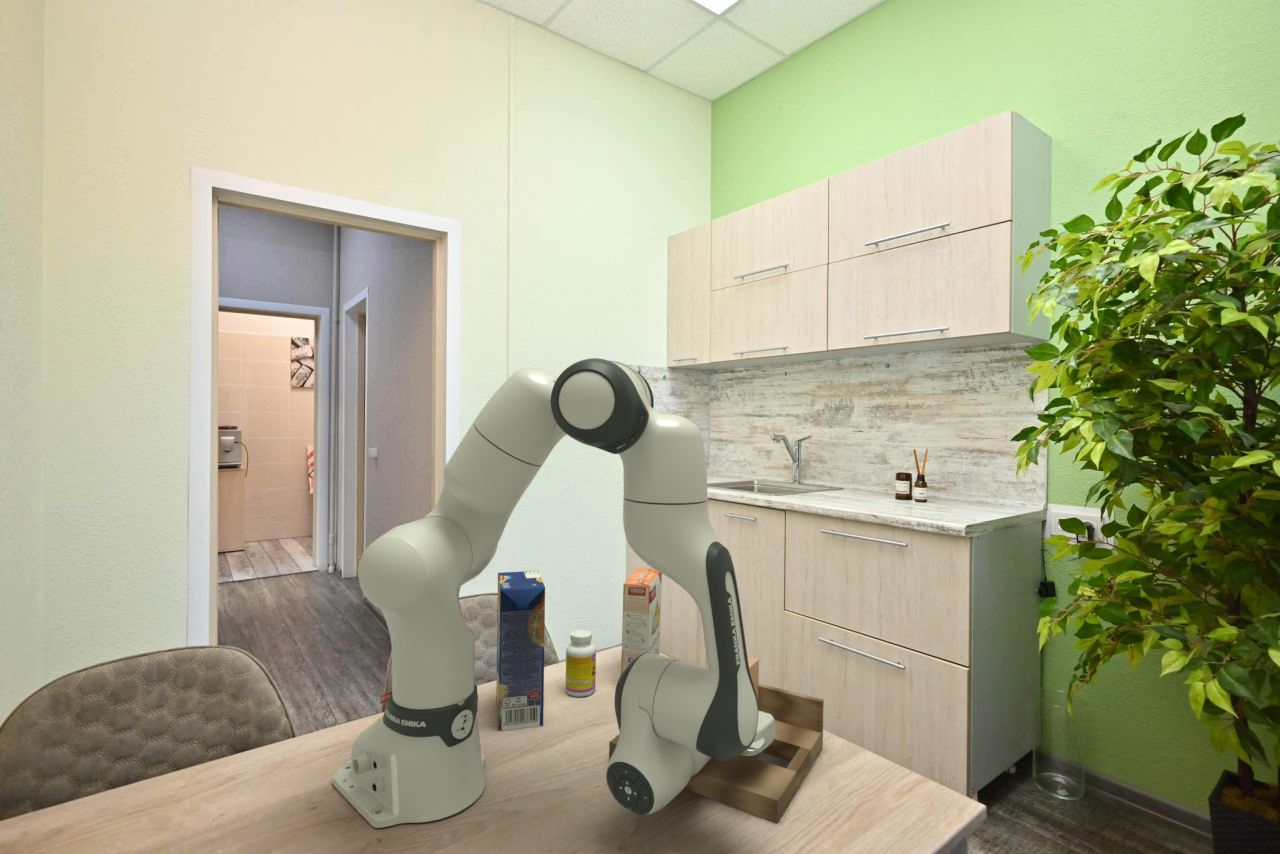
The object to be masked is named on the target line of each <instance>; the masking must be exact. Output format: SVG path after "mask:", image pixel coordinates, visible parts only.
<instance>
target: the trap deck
mask: <svg viewBox="0 0 1280 854" xmlns="http://www.w3.org/2000/svg"><path fill="white" fill-rule="evenodd" d="M824 705H825V704H824V699H822V698H819V697H814V696H809V695H806V694H802V693H797V692H794V691H790V690H786V689H782V688H779V687H778V688H777V687H774V686H769V685H767V684H763V683H759V682H758V711H761V712H765V713H769V714H771V715H772V716H773V718H774V720H775V738H774V740H773V742H772V743H771V744H770V745H769V746H768V747H767V748H765V749H764V750H763V751H762V752H760V753H759V754H757V755H754V756H744V755H740V754H739V755H738V756H736V757H734V758H732V759H729V760H727V761H724V762H720V761H718V760H716V759H713V758H711V759H710V760H709V761H708V762H707V763H706V764H705V766H704V767H703V768H702V769H701V770H700V771H699V772H698V773H697V774H695V775H693V776H691V778H690V780H689V782H688V784H687V785H686V786H685V787H684V788H683V790H687V791H689V792H692V793H695V794H697V795H700V796H702V797H706V798H708V799H711V800H713V801H716V802H719V803H722V804H725V805H726V806H729V807H731V808H732V807H733V808H734V809H738V810H740V811H743V812H745V813H749V814H751V815H754V816H756V817H759V818H762V819H765V820H767V821H770V822H772V823H775V824H778V823H779V822H780V820H781V818H782V816H783V815H784V813H785V812H786V810H787V808H788V806H789V805H790V803H791V802H792V800H793V799H794V797H795V795H796V793H797V792H798V791H799V788H800V787H801V785H802V783H803V782H804V780H805V779H806V777H807V775H808V774H809V773H810V770H811V769H812V767H813V765H814V763H816V761H817V758H818V757H819V755H820V754H821V752H822V750H823V749H824V748H823V746H824V745H823V743H824V741H823V740H824V738H823V737H824ZM618 738H619V734H618V735H616V736H615V737H614V738H612V739H611V740H609V748H608V749H609V750H608V752H609V753H608V758H609V759H608V761H609V760H610V758H611V756H612V754H613V753H614V750H615V748H616V746H617V742H618Z"/></svg>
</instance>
